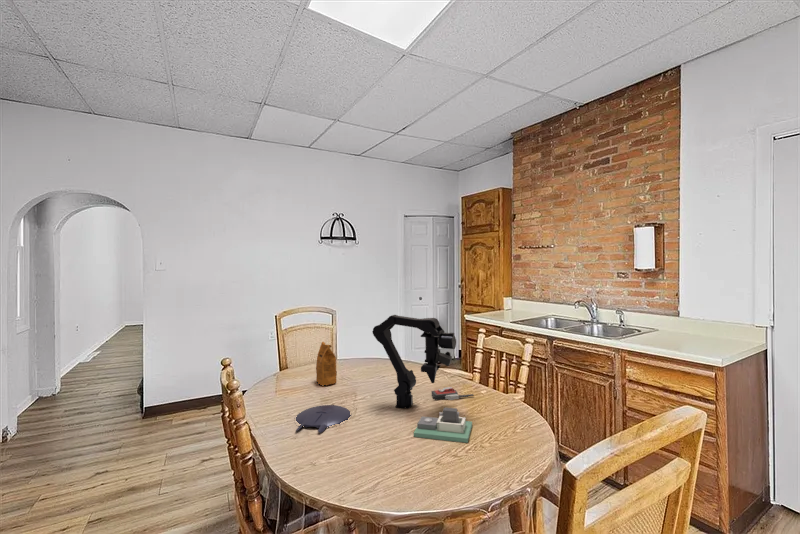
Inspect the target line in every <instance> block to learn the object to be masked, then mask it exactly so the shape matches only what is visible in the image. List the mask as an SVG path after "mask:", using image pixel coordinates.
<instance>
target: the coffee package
mask: <svg viewBox="0 0 800 534" xmlns="http://www.w3.org/2000/svg"><path fill="white" fill-rule="evenodd" d="M331 348H332V345H331V344H326V342H324V341H321V345H320V347H319V349H318V352H317V357H316V367H315V370H316V371H315V372H316V374H315V375H316V379H315V381H316V383H317V382H318V383H317V384H318V385H319V384H320V385H323V386H322V387H325V386H324V385H326V386H329V385H333V384H336V383H337V357H336V355H335V354H334V353H333V351H332V349H331ZM320 385H319V386H320Z"/></svg>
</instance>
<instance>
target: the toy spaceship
mask: <svg viewBox="0 0 800 534" xmlns="http://www.w3.org/2000/svg"><path fill="white" fill-rule="evenodd" d="M350 412H351V410H349V409H348V408H346V407H345V406H341V405H335V404H322V405H317V406H312V407H309V408H306V409H304V410H302V411H301V413H300V412H299V413H298V414H296V416H297V417H296V416H295V417H296V421H297V422H298V423H299V424H301V425H300V426H297V428H296V430H295V432H298V431H299V430H300V429H301V428H303V427H302V426H304V427H306V428H309V427H312V428H313V427H314V428H317V432H318V433H320V434H321V433H323V432H324V431H326V429H325V428H327V427H329V426H332V425H335V424H340V423H341V422H343V421H345V420H348V418H349V417H350V416H351V417H352V414H351V415H350ZM348 421H349V420H348ZM318 428H319V429H318ZM327 429H328V428H327Z"/></svg>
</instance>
